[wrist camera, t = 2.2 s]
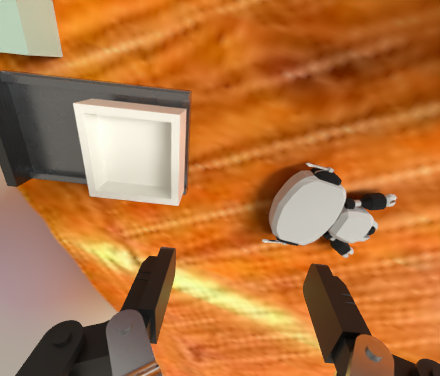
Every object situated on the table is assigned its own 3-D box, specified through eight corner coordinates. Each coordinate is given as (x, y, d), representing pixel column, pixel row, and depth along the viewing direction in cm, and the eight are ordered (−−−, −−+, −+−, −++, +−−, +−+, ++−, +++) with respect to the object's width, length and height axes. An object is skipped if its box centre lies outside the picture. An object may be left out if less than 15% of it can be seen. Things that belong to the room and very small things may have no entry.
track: (1, 69, 27) (-34, 70, 24) (191, 90, 27) (185, 94, 24) (31, 172, 33) (7, 185, 30) (187, 189, 33) (182, 204, 30)
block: (4, -4, 24) (-48, -21, 20) (52, 1, 24) (12, -14, 20) (18, 52, 26) (-25, 49, 22) (63, 57, 26) (28, 55, 22)
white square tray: (101, 96, 27) (72, 103, 22) (189, 106, 27) (179, 114, 22) (111, 175, 31) (89, 196, 26) (186, 184, 31) (178, 205, 27)
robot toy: (388, 183, 33) (292, 149, 30) (412, 200, 29) (305, 163, 26) (338, 247, 38) (253, 223, 35) (353, 269, 34) (259, 244, 31)
